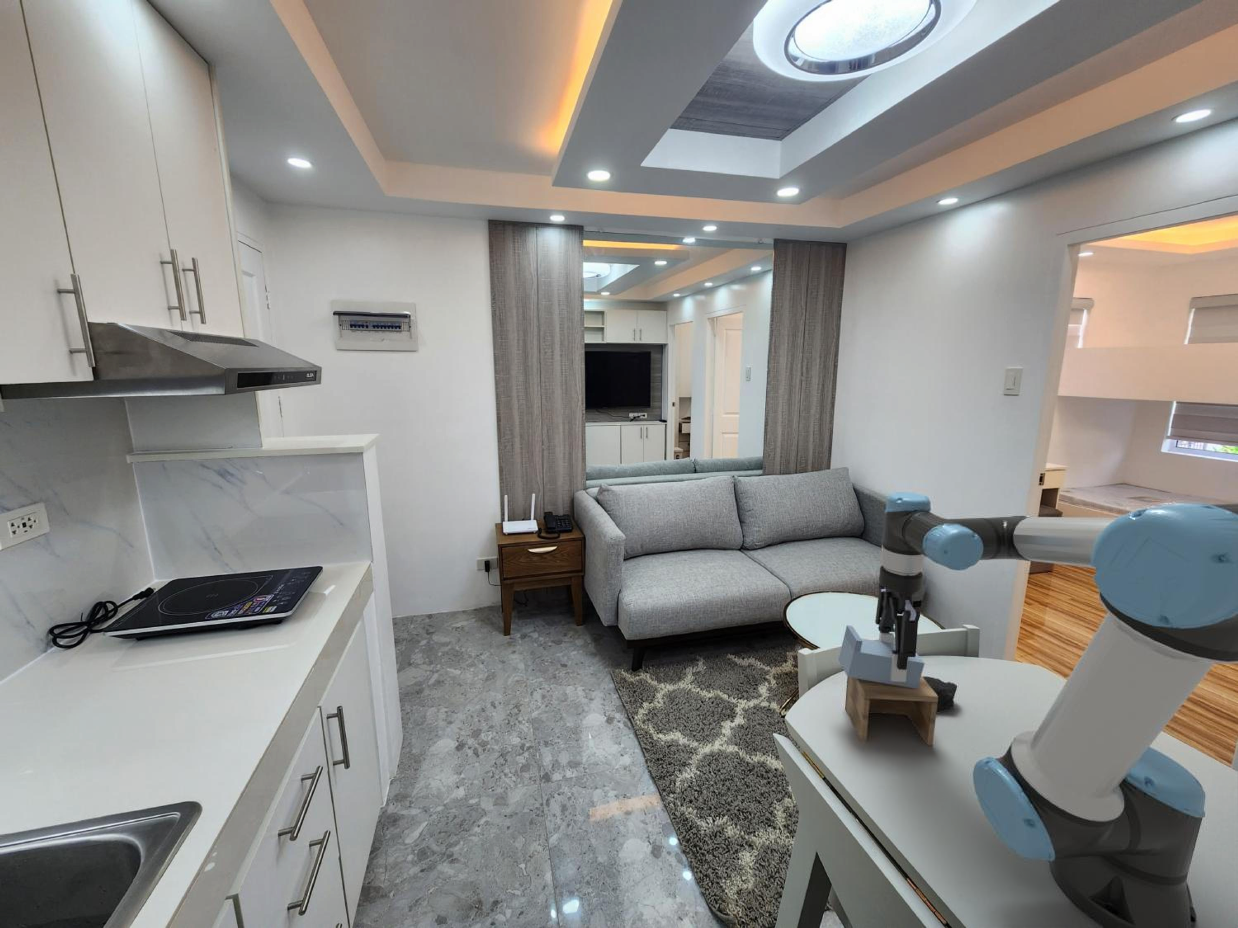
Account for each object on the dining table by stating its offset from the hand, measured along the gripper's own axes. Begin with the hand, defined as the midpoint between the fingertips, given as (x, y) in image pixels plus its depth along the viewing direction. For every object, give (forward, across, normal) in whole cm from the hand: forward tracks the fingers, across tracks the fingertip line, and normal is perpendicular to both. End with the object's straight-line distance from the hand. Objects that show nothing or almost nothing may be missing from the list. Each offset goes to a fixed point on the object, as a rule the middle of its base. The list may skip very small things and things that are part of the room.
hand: (890, 670), depth 104 cm
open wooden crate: (+13, 0, 0) cm, 13 cm away
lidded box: (+1, 0, +3) cm, 3 cm away
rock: (+14, +8, -12) cm, 20 cm away
